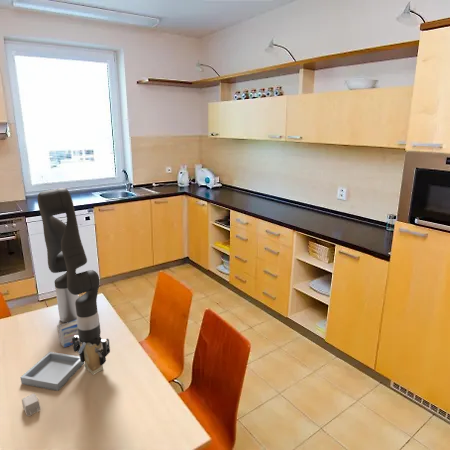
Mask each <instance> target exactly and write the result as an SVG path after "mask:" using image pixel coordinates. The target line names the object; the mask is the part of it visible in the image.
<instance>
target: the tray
mask: <svg viewBox="0 0 450 450" xmlns="http://www.w3.org/2000/svg"><path fill="white" fill-rule="evenodd" d="M83 365H85V361H84V362H81V360H80V355H72V354H66V353H59V352H55V351H48V352H47V353H46V354H45V355H44V356H43V357H41V359H39V361H37V362H36V363H35V364H34V365H32V367H30V368H29V369H28V370H27V371H25V373H24V374H23V375H21V376H20V383H21V385H26V386H31V387H35V388H36V387H37V388H41V389H46V390H51V391H58V392H59V391H60V390H61V388H63V387H64V386H65V384H66V383H68V381H69V380H70V379H71V378H72V377H73V376H74V375H75V374H76V373H77V372H78V371H79V370H80V368H82V367H83Z"/></svg>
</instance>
